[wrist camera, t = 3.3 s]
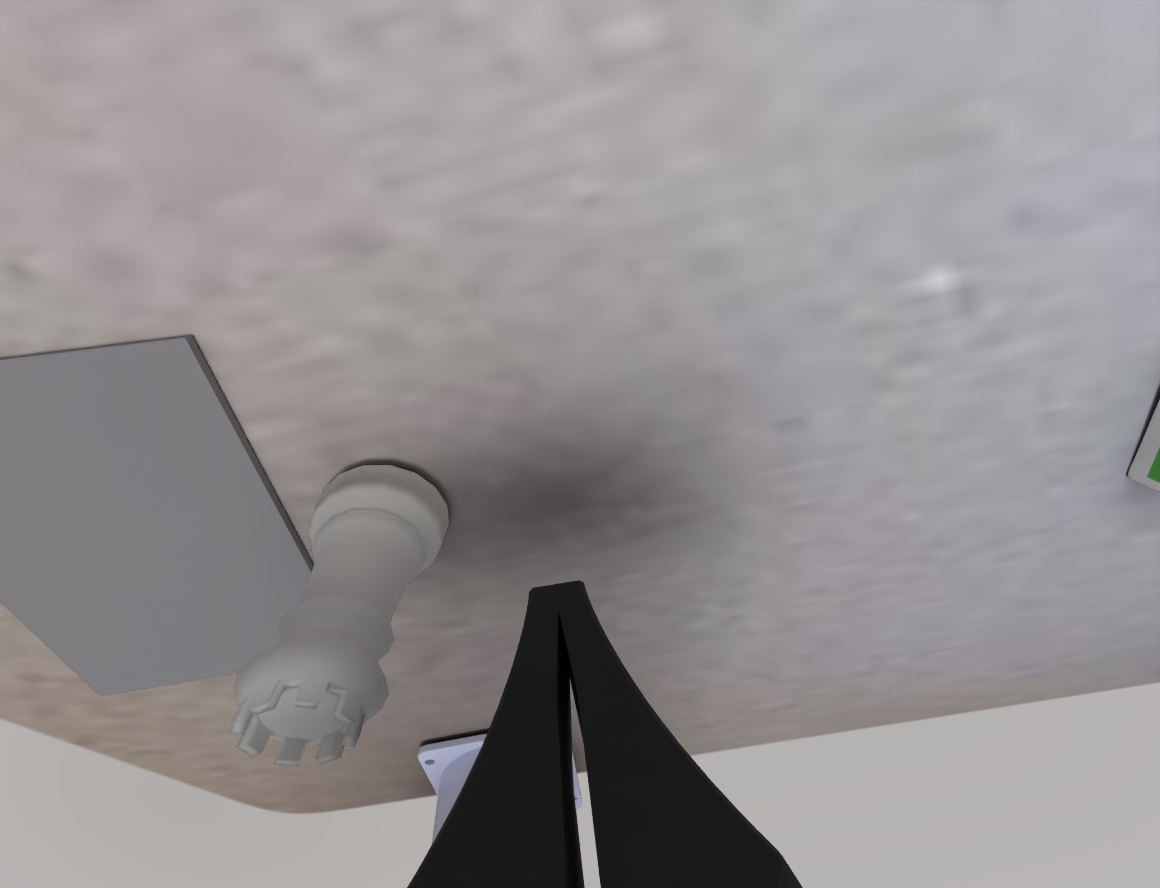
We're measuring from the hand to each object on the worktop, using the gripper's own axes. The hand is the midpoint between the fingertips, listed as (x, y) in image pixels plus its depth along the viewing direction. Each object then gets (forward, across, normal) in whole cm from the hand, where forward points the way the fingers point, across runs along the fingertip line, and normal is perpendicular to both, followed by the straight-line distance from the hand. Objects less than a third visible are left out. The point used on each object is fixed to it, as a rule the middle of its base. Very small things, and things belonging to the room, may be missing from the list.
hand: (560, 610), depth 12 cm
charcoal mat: (+6, +15, 0) cm, 16 cm away
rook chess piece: (+6, +6, 0) cm, 8 cm away
